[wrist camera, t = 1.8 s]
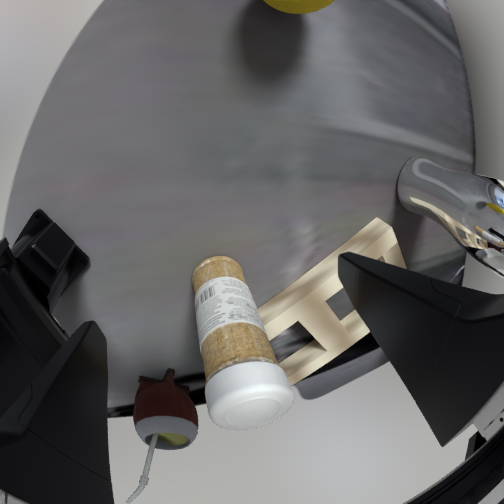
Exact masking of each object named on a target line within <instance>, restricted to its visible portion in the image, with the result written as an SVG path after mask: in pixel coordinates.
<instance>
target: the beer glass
mask: <svg viewBox="0 0 504 504" xmlns="http://www.w3.org/2000/svg"><path fill="white" fill-rule="evenodd" d="M397 193H398V198H399V201H400V203H401V205H402V206H403V207H404V208H405V209H406V210H408V211H410V212H413V213H417V214H420V215H423V216H426V217H428V218H430V219H431V220H433V221H434V222H436V223H437V224H438V225H439V226H440V227H441V228H442V229H443V230H445V231H446V232H447V233H448V234H449V235H450V236H451V237H452V238H453V239H454V240H455V241H456V242H457V243H458V244H459V245H460V246H461V247H462V248H463V249H464V250H465V251H466V252H467V253H469V254H470V255H471V256H472V257H473V258H475V259H476V260H477V261H478V262H480V263H481V264H483V265H484V266H485V267H487V268H488V269H490V270H491V271H492V272H494V273H496V274H497V275H499V276H500V277H502V278H504V182H503V181H501V180H498V179H495V178H491V177H487V176H483V175H478V174H472V173H466V172H460V171H454V170H451V169H447V168H445V167H443V166H441V165H439V164H437V163H436V162H434V161H433V160H431V159H429V158H427V157H425V156H415V157H413V158H411V159H410V160H409V161H408V162H407V163H406V164H405V165H404V167H403V168H402V170H401V172H400V175H399V178H398V184H397Z"/></svg>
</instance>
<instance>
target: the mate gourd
mask: <svg viewBox="0 0 504 504" xmlns="http://www.w3.org/2000/svg"><path fill="white" fill-rule="evenodd" d="M174 374H175V370H174V369H171V368H168V370H167V372H166V374H165V376H164V378H163V379H162V380H156V379H151V378H147V377H143V376H140V377H139V380H138V382H140V386H139V388H138V391H137V393H136V396H135V403H134V413H133V419H134V424H135V429H136V431H137V433H138V435H139V436H140V438H141V439H142V441H143V442H144V443H146V444H147V445H149V450H148V454H147V458H146V462H145V466H144V471H143V475H142V476H141V478H140V481H139V482H140V484H139V486H138V488H137V489H136V491H135V492H134V493H133V494H132V495H131V496H130V498H128V500H127V501H126V502H127V503H130V502H132V501H133V500H134V499H135V498H136V497H137V496H138V495H139V494H140V493H141V492H142V490H143V489H144V487H145V485H147V483H148V480H149V478H148V474H149V469H150V464H151V461H152V457H153V452H154V449H155V448H157V449H163V450H176V449H182V448H185V447H187V446H189V445H190V444H191V443H192V442H193V441H194V439H195V437H196V435H197V434H198V432H197V430H198V415H197V411H196V408H195V406H194V404H193V402H192V400H191V399H190V397H189V395H188V392H189V391H190V389H189V387H188V386H184V385H179V384H174V379H173V376H174Z"/></svg>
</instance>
